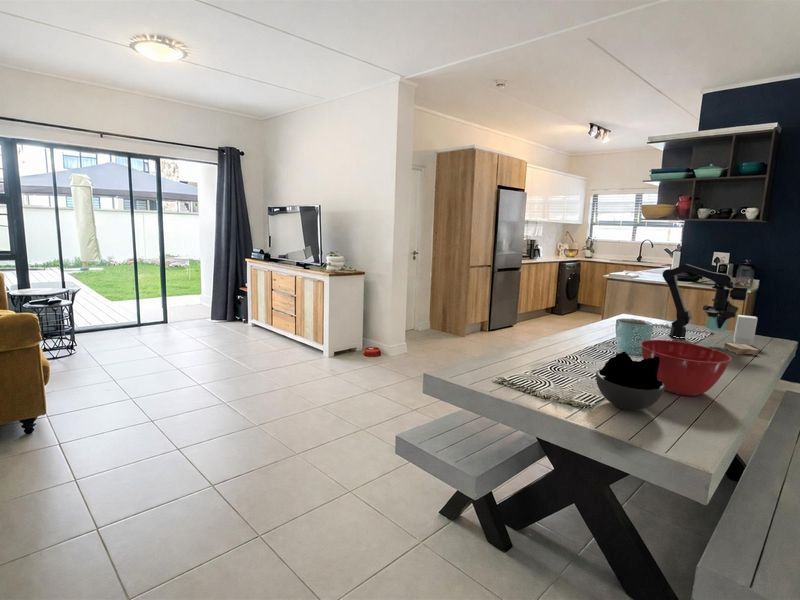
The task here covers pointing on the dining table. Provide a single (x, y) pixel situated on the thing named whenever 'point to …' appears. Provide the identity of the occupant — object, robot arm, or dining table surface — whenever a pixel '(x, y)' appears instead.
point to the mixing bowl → (686, 365)
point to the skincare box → (745, 329)
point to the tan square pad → (741, 348)
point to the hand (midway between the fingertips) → (715, 326)
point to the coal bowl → (630, 382)
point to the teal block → (715, 324)
